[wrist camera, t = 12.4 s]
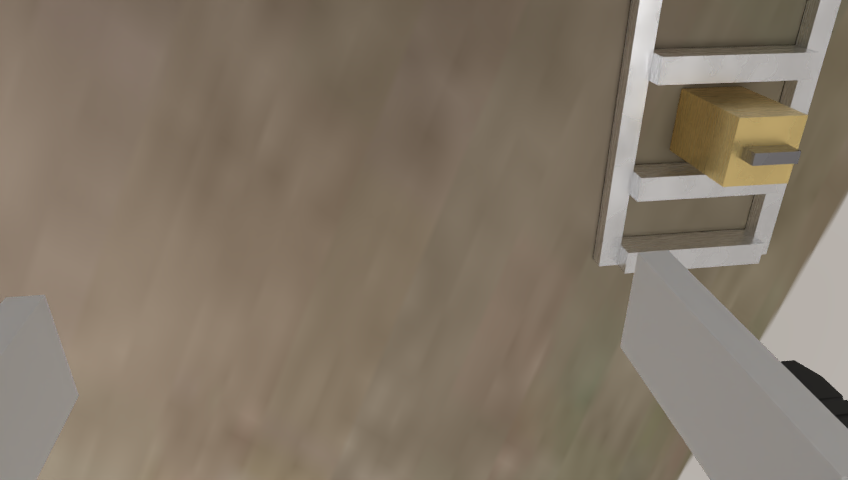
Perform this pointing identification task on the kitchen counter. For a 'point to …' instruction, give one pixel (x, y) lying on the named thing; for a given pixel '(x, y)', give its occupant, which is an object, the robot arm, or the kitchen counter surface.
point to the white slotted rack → (682, 178)
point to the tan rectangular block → (737, 135)
